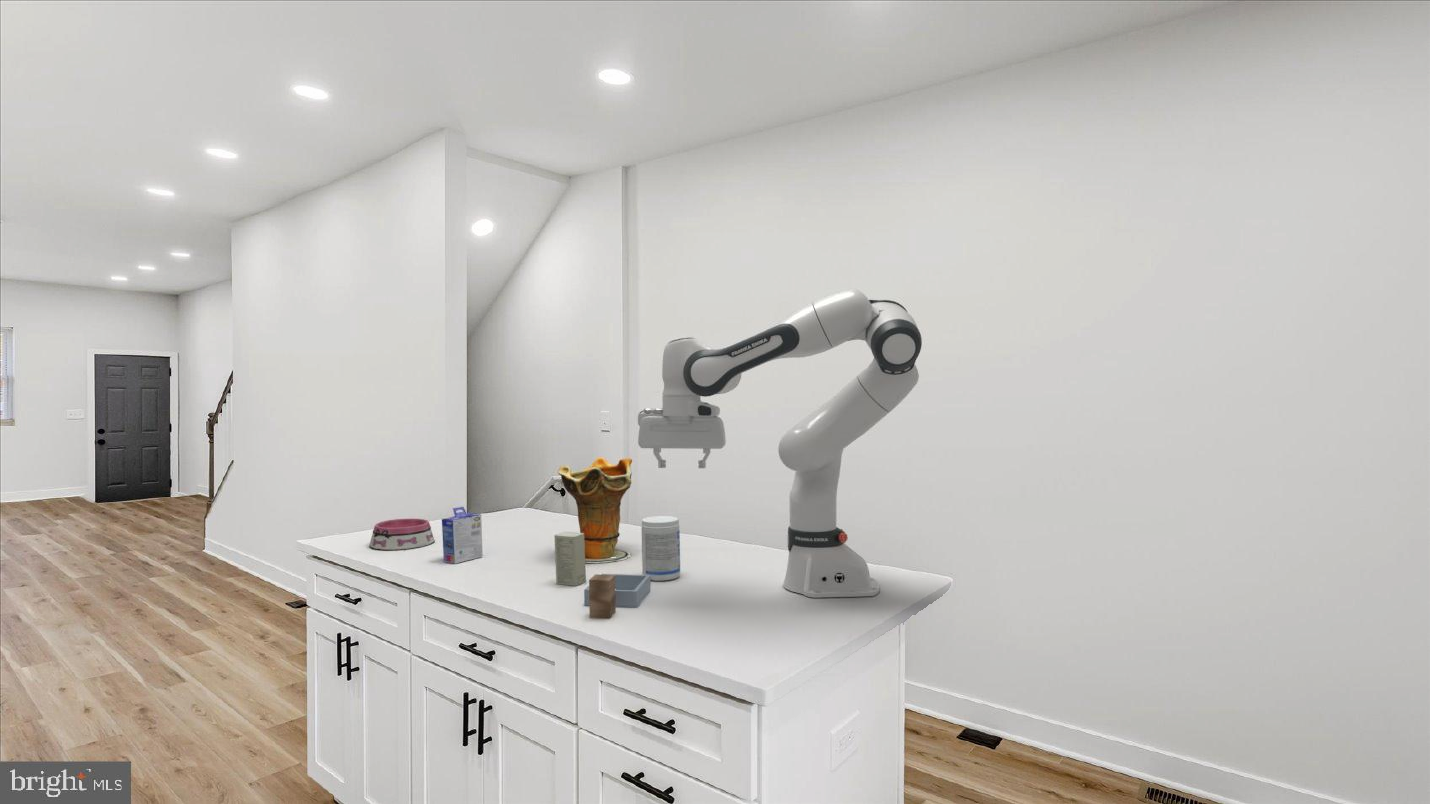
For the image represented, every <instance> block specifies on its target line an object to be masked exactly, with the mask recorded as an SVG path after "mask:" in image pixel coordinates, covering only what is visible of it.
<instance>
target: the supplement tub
mask: <svg viewBox="0 0 1430 804" xmlns="http://www.w3.org/2000/svg"><path fill="white" fill-rule="evenodd" d="M679 522H680V521H679V518H678V517H676V516H672V515H671V516H670V515H658V516H657V515H656V516H654V515H653V516H647V517H644V518H642V520H641V561H642V562H641V564H642V565H641V566H642V575H650V581H653V582H654V581H655V582H661V581H662V582H663V581H671V580H675V579H677V578H679V576H680V575H681V546H680V545H681V544H680V543H681V540H680V538H681V537H680V532H681V531H680V523H679Z"/></svg>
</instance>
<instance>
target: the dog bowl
mask: <svg viewBox="0 0 1430 804" xmlns="http://www.w3.org/2000/svg"><path fill="white" fill-rule="evenodd" d="M435 543H436V540H435V538H434V534H433V531H432V526H431V523H430V521H429V520H428V519H424V518H423V519H422V518H397V519H389V520H388V519H387V520H384V521H380V522H378V523H376V524H375V525H374V527H373V530H372V534H371V539H370V542H369V547H368V548H370V549H371V550H374V551H380V552H398V551H408V550H409V551H411V550H416V549H420V548H425V547H428V546H431V545H433V544H435Z"/></svg>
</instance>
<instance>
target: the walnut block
mask: <svg viewBox="0 0 1430 804" xmlns="http://www.w3.org/2000/svg"><path fill="white" fill-rule="evenodd" d="M588 586H589V606H588V608H589V618H590V619H606V620H607V619H609V620H610V619H611V618H612V617H613V616H614V615H615V613H616V611H617V610H616V608H617V607H616V597H615V575H601V574H600V573H599V574H594V575H593V576H592V577H590V579H589V580H588ZM612 615H613V616H612Z"/></svg>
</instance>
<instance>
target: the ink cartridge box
mask: <svg viewBox="0 0 1430 804" xmlns="http://www.w3.org/2000/svg"><path fill="white" fill-rule="evenodd" d="M452 510H453V514H454V516H449V517H445V518H441V531H442V549H443V550H442V551H443V552H442V554H443V555H442V556H443V562H444V563H448V564H453V565H454V564H455V565H456V564H459V563H463V562H467V561H471V560H474V559H478V558H483V556H484V554H483V553H484V552H483V529H482V528H483V527H482V522H483V521H482V514H481V513H474V512H469V513H468V512H466V509H465V508H464V506H460V507H459V506H458V507H453V508H452ZM457 511H461V512H457Z"/></svg>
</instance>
